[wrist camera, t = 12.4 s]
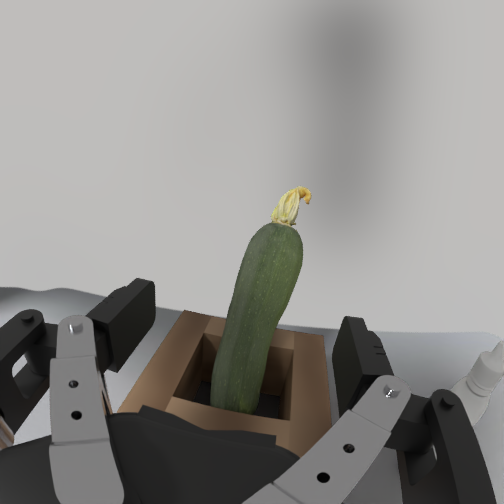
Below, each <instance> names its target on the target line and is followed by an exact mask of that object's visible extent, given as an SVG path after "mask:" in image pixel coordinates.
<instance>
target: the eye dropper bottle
mask: <svg viewBox="0 0 504 504" xmlns="http://www.w3.org/2000/svg"><path fill="white" fill-rule="evenodd" d="M503 357H504V341H500V342H499V343H498V345H497V346H496V347H495V348H494V350H493V351H492V352H488V351H486V352H482V353H481V354H480V356H479V357H478V359H477V361H476V363H475V364H474V366H473V368H472V369H471V371H470V372H469V374H468V376H465V377H463V378H462V379H460V380H459V381H458V382H457V383H456V384H455V385H454V386H453V388H452V389H451V392H453V393H455V394H456V395H457V396H458V397H459V398H460V399H461V401H462V403H463V406H464V408H465V410H466V413H467V415H468V418H469V420H470V422H471V425H472V427H474V426H475V424H476V423H477V422H478V421H479V419H480V418H481V417H482V415H483V414H484V412H485V411H486V409H487V406H488V404H489V400H490V394H491V393H492V391H493V390H494V388H495V387H496V385H497V384H498V382H499V381H500V379H501V378H502V376H503V375H504V361H503ZM433 449H434V453H435V457H436V460H437V456H436V451H435V447H434V446H433Z"/></svg>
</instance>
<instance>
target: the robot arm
mask: <svg viewBox="0 0 504 504" xmlns="http://www.w3.org/2000/svg"><path fill="white" fill-rule="evenodd" d="M155 316H156V306H155V285H154V282H153V281H148V280H144V279H140V278H136V279H135V280H134V281H132V282H131V283H130V284H129V285H128V286H127V287H126V286H124V287H122V288H119V289H116V290H114V291H113V292H112V293H111V294H110V295H109V296H108V297H106V298H105V299H104V300H103V301H102V302H100V303H99V304H98V305H97V306H96V307H95V308H94V309H92V310H91V311H90V312H89V313H88V314H87V315H86V316H82V315H74V316H69V317H67V318H65V319H63V320H62V321H61V322H60V323H59V325H57V324H49V323H45V322H44V318H43V315H42V313H41V312H40V311H38V310H34V309H29V310H24V311H21V312H20V313H18V314H17V315H15V316H14V317H13V318H12V319H11V320H9V321H8V322H7V323H6V324H5V325H3V326H2V327H1V328H0V504H343V503H342V502H343V501H344V499H345V498H346V497H347V496H348V494H349V493H350V492H351V491H352V490H353V488H354V487H355V486H356V484H357V483H358V482H359V480H360V479H361V478H362V476H363V475H364V474H365V472H366V471H367V470H368V468H369V467H370V465H371V464H372V463H373V461H374V460H375V458H376V457H377V455H378V454H379V452H380V451H381V449H382V448H383V447H387V448H391V449H395V450H396V452H397V458H398V465H399V473H400V480H401V489H402V498H403V504H497V503H496V499H495V495H494V491H493V488H492V484H491V480H490V477H489V474H488V470H487V467H486V464H485V461H484V458H483V455H482V452H481V449H480V446H479V443H478V441H477V438H476V435H475V433H474V430H473V427H472V425H471V422H470V420H469V418H468V415H467V413H466V410H465V408H464V406H463V403H462V401H461V399H460V398H459V397H458V396H457V395H456V394H455V393H453V392H451V391H449V390H445V389H439V390H436V391H435V392H434V393H433V394H432V395H431V397H430V398H425V397H421V396H417V395H413V394H411V390H410V388H409V386H408V385H407V383H406V382H405V381H403V380H402V379H400V378H398V377H395V376H394V374H393V371H392V368H391V366H390V363H389V360H388V358H387V355H386V353H385V350H384V349H383V345H382V343H381V340H380V338H379V337H378V336H377V335H376V334H375V333H374V332H373V331H368V330H367V327H366V325H365V322H364V319H363V318H357V317H350V316H345V317H344V319H343V321H342V324H341V327H340V330H339V333H338V336H337V339H336V342H335V345H334V348H333V353H332V363H333V369H334V377H335V384H336V391H337V399H338V408H339V416H340V419H339V420H338V421H337V422H336V423H335V424H334V425H333V426H332V428H331V429H330V430H329V431H328V432H327V433H326V434H325V435H324V436H323V437H322V438H321V439H320V440H319V441H318V442H317V443H316V444H315V445H314V446H313V447H312V448H311V449H310V450H309V451H308V452H307V453H306V454H305V455H304V456H302V457H301V458H300V457H299V456H298V455H296V454H295V453H293V452H291V451H290V450H288V449H285V448H283V447H281V446H278V445H276V436H277V435H270V434H263V433H257V432H250V431H244V430H205V429H202V428H200V427H198V426H196V425H194V424H192V423H190V422H188V421H186V420H184V419H182V418H180V417H178V416H176V415H174V414H172V413H168V412H165V411H162V410H158V409H155V408H152V407H149V406H146V405H142V407H141V408H140V410H139V412H138V413H137V412H120V413H112V409H111V404H110V400H109V395H108V390H107V385H106V380H105V376H104V372H105V371H106V370H107V369H108V370H111V371H114V372H116V373H118V371H119V370H120V369H121V367H122V366H123V365H124V363H125V362H126V361H127V359H128V358H129V356H130V355H131V354H132V352H133V351H134V350H135V348H136V347H137V346H138V344H139V343H140V342H141V340H142V339H143V338H144V336H145V335H146V334H147V332H148V331H149V330H150V328H151V327H152V326H153V324H154V321H155ZM23 354H24V355H25V358H26V360H27V364H26V365H25V366H24V367H23V368H22V369H21V370H20V371H19V372H18V373H17V375H16V376H15V377H14V378H13V376H12V368H13V365H14V364H15V363H16V362H17V360H18V359H19V358H20V357H21V356H22V355H23ZM49 387H50V419H51V434H52V435H49V436H45V437H42V438H39V439H35V440H32V441H28V442H25V443H21V444H18V445H14V446H13V443H14V435H15V433H16V432H17V431H18V429H19V428H20V426H21V425H22V424H23V422H24V421H25V419H26V418H27V417H28V415H29V414H30V413H31V411H32V410H33V408H34V407H35V406H36V404H37V403H38V402H39V400H40V399H41V398H42V397H43V395H44V394H45V393H46V391H47V390H48V389H49ZM433 446H434V447H435V451H436V456H437V460H436V457H435V453H434V449H433Z"/></svg>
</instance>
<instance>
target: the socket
mask: <svg viewBox="0 0 504 504" xmlns="http://www.w3.org/2000/svg"><path fill="white" fill-rule="evenodd" d="M225 322H226V319H224V318H219V317H214V316H209V315H205V314H200V313H196V312H191V311H187V310H184V311H183V312H182V314H181V315H180V317H179V318H178V320H177V321H176V323H175V324H174V326H173V327H172V329H171V330H170V332H169V333H168V334H167V336H166V337H165V339H164V340H163V342H162V343H161V345H160V346H159V348H158V350H157V351H156V353H155V354H154V356H153V357H152V359H151V360H150V362H149V363H148V365H147V366H146V368H145V369H144V371H143V372H142V374H141V375H140V377H139V378H138V380H137V381H136V383H135V385H134V386H133V388H132V389H131V391H130V392H129V394H128V395H127V397H126V399H125V400H124V402H123V403H122V405H121V406H120V408H119V409H118V411H117V413H120V412H137V413H138V412H139V410H140V408H141V407H142V405H146V406H149V407H152V408H155V409H158V410H162V411H165V412H168V413H172V414H174V415H176V416H178V417H180V418H182V419H184V420H186V421H188V422H190V423H192V424H194V425H196V426H198V427H200V428H202V429H205V430H244V431H250V432H257V433H263V434H270V435H277V436H276V445H278V446H281V447H283V448H285V449H288V450H290V451H291V452H293V453H295V454H296V455H298V456H299V457H300V458H301V457H302V456H304V455H305V454H306V453H307V452H308V451H309V450H310V449H311V448H312V447H313V446H314V445H315V444H316V443H317V442H318V441H319V440H320V439H321V438H322V437H323V436H324V435H325V434H326V433H327V432H328V431H329V430H330V429H331V428H332V425H331V411H330V398H329V386H328V376H327V366H326V356H325V347H324V338H323V336H322V335H315V334H308V333H302V332H295V331H289V330H283V329H277V328H276V329H275V331H274V334H273V337H272V341H271V344H270V347H269V351H268V355H267V362H266V367H265V373H264V377H263V381H262V386H261V390H260V393H264V394H270V395H276V396H280V402H279V412H278V419H273V418H267V417H260V416H255V415H249V414H244V413H238V412H233V411H229V410H224V409H219V408H215V407H211V406H207V405H203V404H199V403H195V402H193V400H194V398H195V395H196V393H197V391H198V388H199V386H200V383H201V381H205V382H209V383H211V382H212V373H213V368H214V363H215V359H216V355H217V352H218V349H219V345H220V342H221V338H222V335H223V331H224V327H225Z"/></svg>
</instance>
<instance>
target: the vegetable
mask: <svg viewBox="0 0 504 504" xmlns="http://www.w3.org/2000/svg"><path fill="white" fill-rule="evenodd" d="M304 196H305V198H304V200H305V201H306V204H309V201H310V199H311V193H310V191H309V190H308V189H307V188H305V187H297V188H296V189H291V190H289V192H288V193H286V194H285V195H283V196H282V198H281V199H280V201H279V203H278V205H277V207H276V208H275V209H274V212H273V213H272V215H271V219H272V223H269V224H266V225H265V226H263V227H262V228H261V229H259V230H258V231H257V233H256V234H255V235H254V236H253V237H252V239H251V241H250V242H249V244H248V247H247V250H246V252H245V255H244V257H243V260H242V263H241V267H240V270H239V273H238V276H237V280H236V284H235V288H234V293H233V297H232V301H231V304H230V306H229V310H228V314H227V318H226V322H225V327H224V331H223V335H222V338H221V342H220V345H219V349H218V352H217V355H216V359H215V363H214V368H213V373H212V382H211V397H210V402H211V407H215V408H219V409H224V410H229V411H233V412H238V413H244V414H249V415H253V414H254V413H255V411H256V408H257V406H258V401H259V395H260V390H261V386H262V381H263V377H264V373H265V367H266V362H267V355H268V351H269V347H270V344H271V341H272V337H273V334H274V331H275V329H276V326H277V324H278V322H279V320H280V318H281V316H282V314H283V312H284V310H285V309H286V307H287V305H288V302H289V300H290V297H291V294H292V292H293V289H294V287H295V284H296V282H297V279H298V276H299V273H300V269H301V267H302V260H303V244H302V241H301V238H300V235H299V234H298V232H297V230H295V229H294V228H292V227H291V226H292V225H296V223H294V222H295V219H296V217H297V214H298V209H299V202H300V199H301V198H303V197H304Z"/></svg>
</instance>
